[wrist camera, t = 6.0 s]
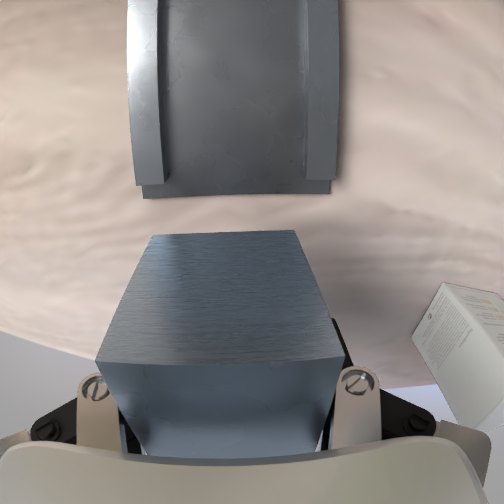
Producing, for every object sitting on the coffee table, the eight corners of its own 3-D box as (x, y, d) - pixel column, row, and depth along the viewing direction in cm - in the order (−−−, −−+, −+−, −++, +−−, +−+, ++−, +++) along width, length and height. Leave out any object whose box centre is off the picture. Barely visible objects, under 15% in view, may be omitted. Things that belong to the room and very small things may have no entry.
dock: (322, -96, 8) (345, -138, 4) (327, 191, 17) (358, 228, 12) (145, -91, 8) (120, -132, 3) (144, 197, 16) (113, 235, 12)
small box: (408, 336, 22) (462, 441, 13) (441, 279, 20) (520, 381, 11) (466, 339, 24) (518, 421, 14) (497, 291, 21) (563, 370, 12)
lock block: (294, 230, 11) (344, 356, 6) (284, 365, 14) (303, 479, 9) (152, 235, 11) (94, 360, 5) (179, 369, 14) (166, 482, 9)
